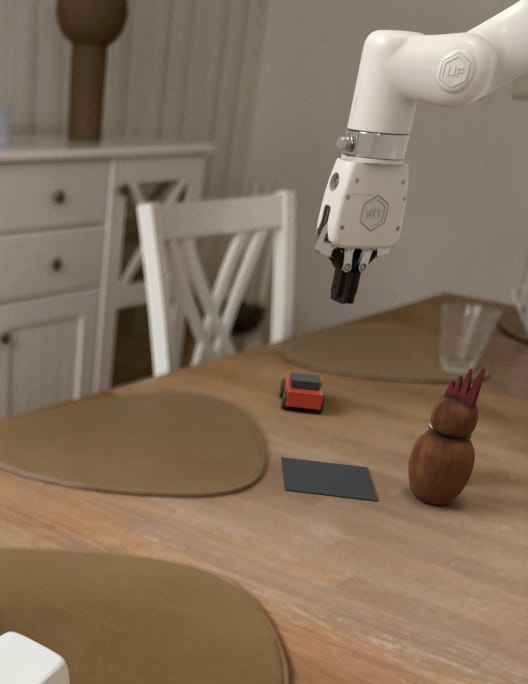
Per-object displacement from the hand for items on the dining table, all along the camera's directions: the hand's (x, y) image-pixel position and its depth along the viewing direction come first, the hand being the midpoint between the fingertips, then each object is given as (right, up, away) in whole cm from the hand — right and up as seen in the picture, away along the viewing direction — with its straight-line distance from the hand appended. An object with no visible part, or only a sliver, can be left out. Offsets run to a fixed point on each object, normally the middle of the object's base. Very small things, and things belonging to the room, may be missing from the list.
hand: (341, 301), depth 130 cm
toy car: (-2, -11, +3) cm, 12 cm away
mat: (-7, -27, -19) cm, 34 cm away
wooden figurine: (+3, -30, -22) cm, 37 cm away
